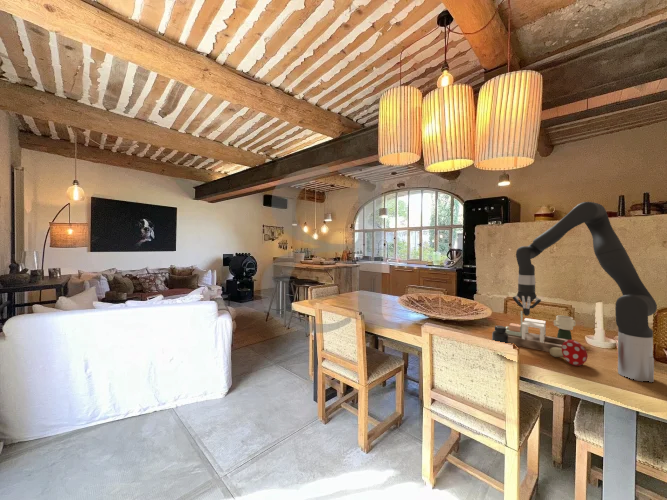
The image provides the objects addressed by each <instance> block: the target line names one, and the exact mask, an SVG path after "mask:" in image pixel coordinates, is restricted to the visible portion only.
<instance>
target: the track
mask: <svg viewBox="0 0 667 500" xmlns="http://www.w3.org/2000/svg"><path fill="white" fill-rule="evenodd" d="M566 340H567V339H562V338H557V337H554V336H549V335H546V336H544V343H541V342H540V334H538V333H533V332H528V333H525V339H522V336H515V335H510V334H508V343H514V344H516V345H515V346H518V347H523V348H527V349H532V350H538V351H543V352H546V353H550V352H549V350H550V349H551V348H553V347H557V348H562V344H563V342H565V341H566Z"/></svg>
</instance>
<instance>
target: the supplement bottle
mask: <svg viewBox="0 0 667 500" xmlns="http://www.w3.org/2000/svg"><path fill="white" fill-rule="evenodd" d="M491 333H492V334H491V336H492V337H491V341H492V340H495V341H500V342H505V343H508V334H507V333H506V326H504V325H497V324H496V325H494V330H493V331H492V332H491Z"/></svg>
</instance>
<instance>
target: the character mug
mask: <svg viewBox="0 0 667 500" xmlns="http://www.w3.org/2000/svg"><path fill="white" fill-rule="evenodd" d="M555 318H556V319H554V320H553V326H554V327H557V328H558V330H557V335H556V336H557V337H556V338H562V339H567V340H573V336H572V332H571V330H572V331H573V329H574V327H576V320H574V317H571V316H568V315H561V314H559V315H556V317H555Z"/></svg>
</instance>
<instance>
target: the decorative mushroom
mask: <svg viewBox="0 0 667 500" xmlns="http://www.w3.org/2000/svg"><path fill="white" fill-rule="evenodd" d="M548 353H549V354H550V356H552V357H554V358H562V357H563V358H564V359H565V360H566V361H567V363H568V364H570V365H572V366H575V367H578V366H579V367H580V366H583V364H585V363H586V362H587V361H588V356H589V355H588V352H587V349H586V348H585V347H584V345H583V344H581V343H580V342H579V341H577V340H574V339H572V340H566V341H565V342H563V344H562V348H557V347H553V348H551V349H550V350H549V352H548Z"/></svg>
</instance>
